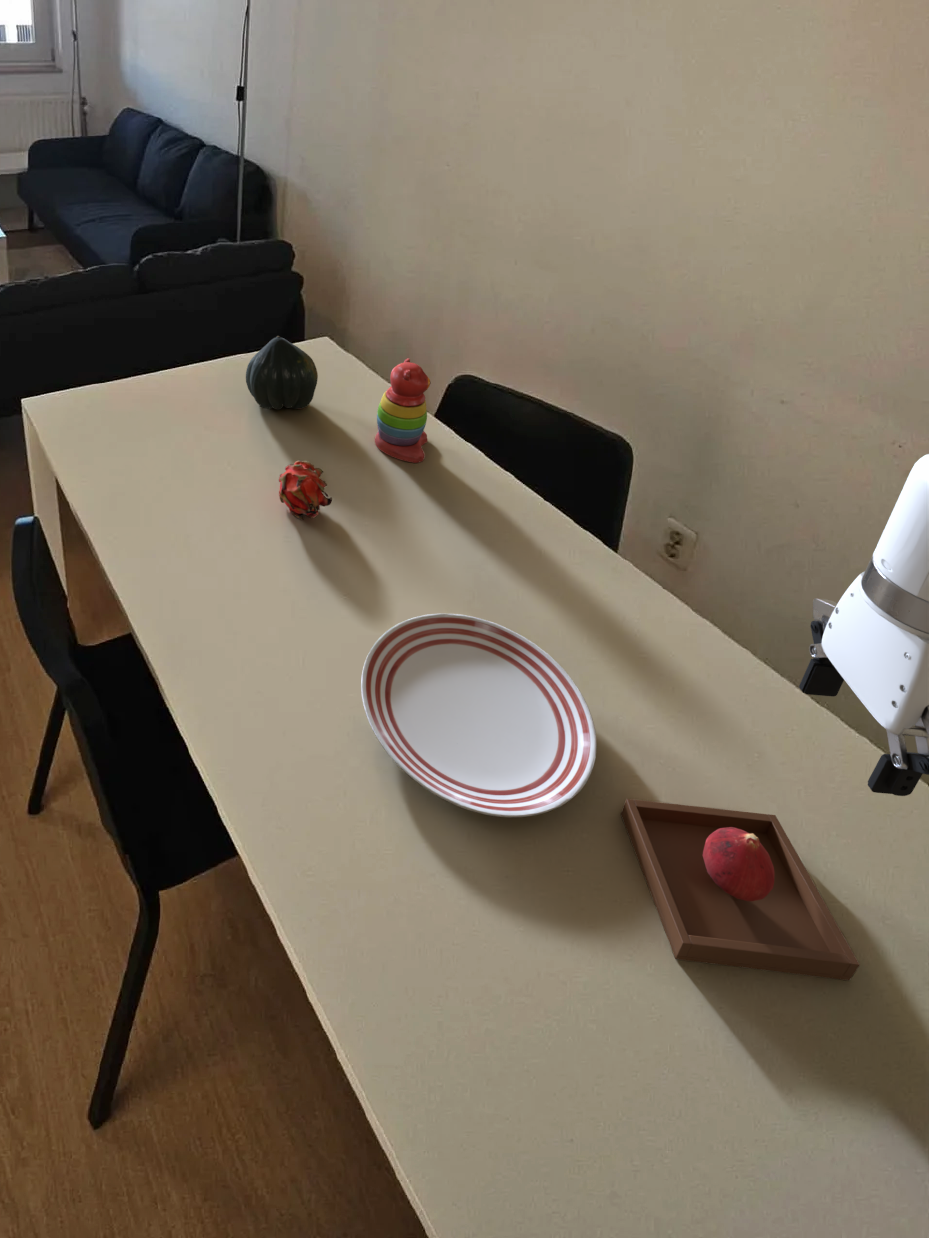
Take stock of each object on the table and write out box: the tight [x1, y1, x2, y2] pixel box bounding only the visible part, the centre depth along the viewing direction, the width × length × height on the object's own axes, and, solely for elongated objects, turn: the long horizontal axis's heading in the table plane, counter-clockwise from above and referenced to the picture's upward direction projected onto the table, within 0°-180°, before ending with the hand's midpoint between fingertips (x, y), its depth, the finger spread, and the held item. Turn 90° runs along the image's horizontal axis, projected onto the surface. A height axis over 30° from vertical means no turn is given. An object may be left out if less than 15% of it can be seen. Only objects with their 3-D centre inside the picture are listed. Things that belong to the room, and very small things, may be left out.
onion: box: [703, 827, 774, 901], centre depth 75 cm, size 6×6×8 cm
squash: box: [245, 335, 319, 410], centre depth 160 cm, size 14×15×15 cm
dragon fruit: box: [278, 459, 333, 521], centre depth 128 cm, size 8×8×12 cm
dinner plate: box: [360, 613, 598, 818], centre depth 93 cm, size 28×27×3 cm
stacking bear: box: [374, 358, 432, 464], centre depth 145 cm, size 11×10×18 cm
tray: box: [620, 798, 861, 981], centre depth 76 cm, size 16×14×3 cm
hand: (850, 738), depth 69 cm, fingers open, 9 cm apart
